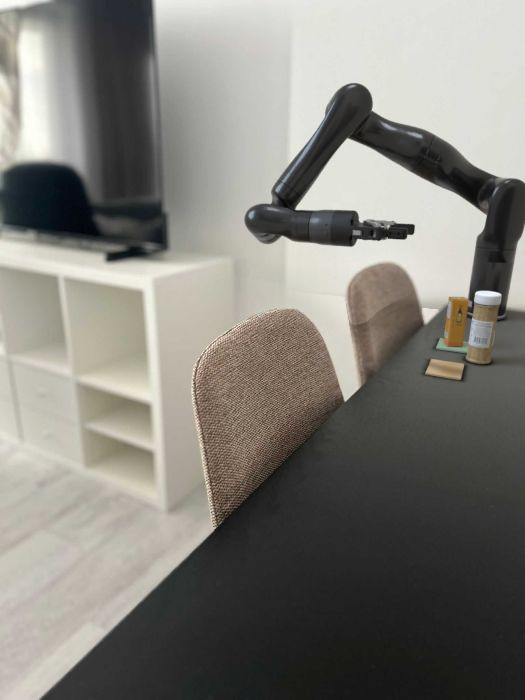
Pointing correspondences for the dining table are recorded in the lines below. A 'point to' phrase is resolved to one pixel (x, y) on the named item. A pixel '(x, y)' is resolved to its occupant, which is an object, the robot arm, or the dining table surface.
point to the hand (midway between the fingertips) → (410, 231)
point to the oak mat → (445, 369)
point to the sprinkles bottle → (483, 326)
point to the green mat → (452, 347)
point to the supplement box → (455, 321)
